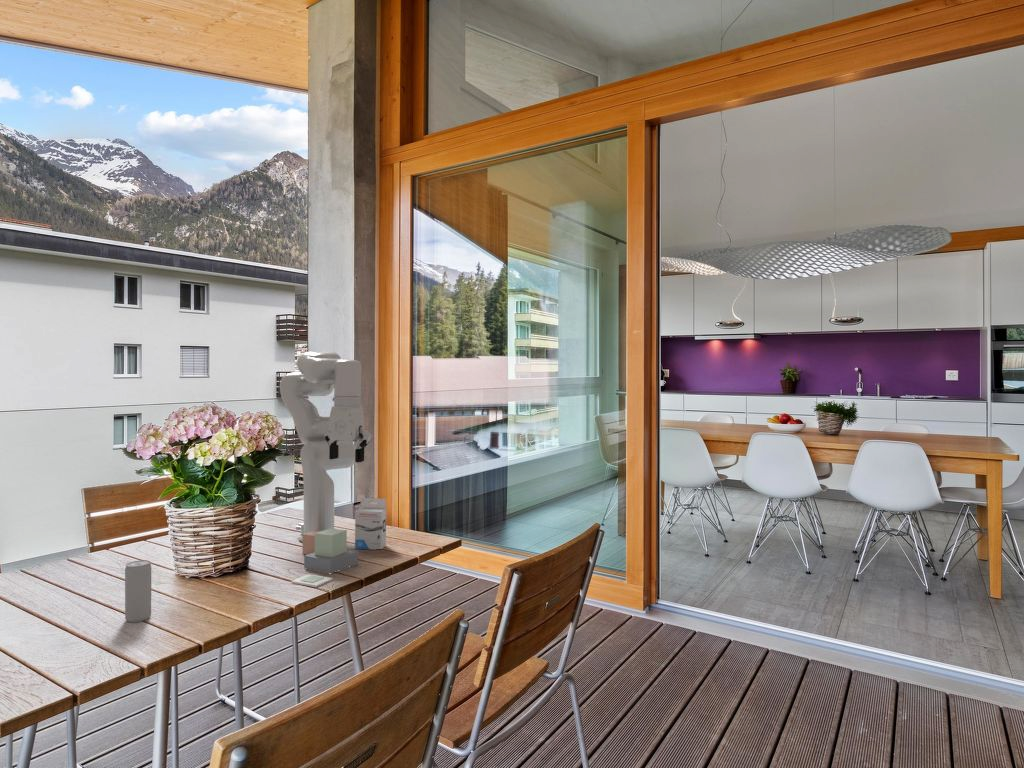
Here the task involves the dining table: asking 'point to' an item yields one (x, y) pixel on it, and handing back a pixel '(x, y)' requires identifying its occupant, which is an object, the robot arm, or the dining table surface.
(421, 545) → the dining table surface
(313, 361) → the robot arm
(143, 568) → the beverage can
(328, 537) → the sage cube
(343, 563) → the slate base block
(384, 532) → the ink box
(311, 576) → the card
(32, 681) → the dining table surface
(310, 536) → the brick cube
